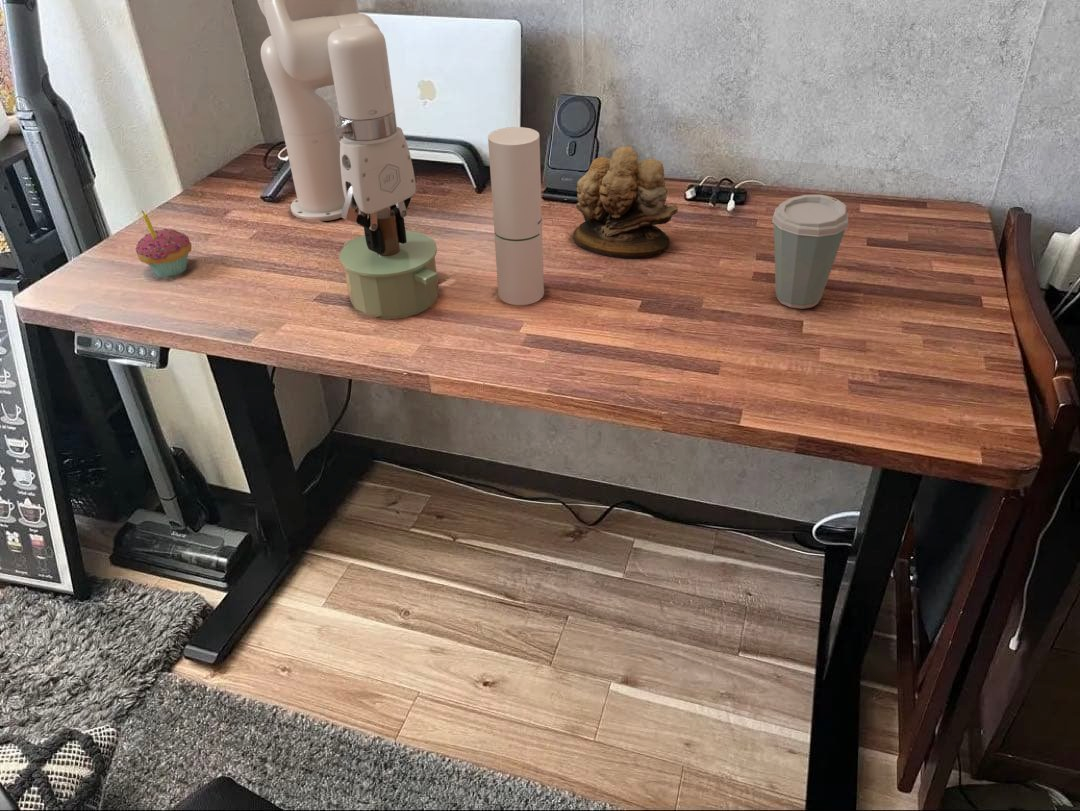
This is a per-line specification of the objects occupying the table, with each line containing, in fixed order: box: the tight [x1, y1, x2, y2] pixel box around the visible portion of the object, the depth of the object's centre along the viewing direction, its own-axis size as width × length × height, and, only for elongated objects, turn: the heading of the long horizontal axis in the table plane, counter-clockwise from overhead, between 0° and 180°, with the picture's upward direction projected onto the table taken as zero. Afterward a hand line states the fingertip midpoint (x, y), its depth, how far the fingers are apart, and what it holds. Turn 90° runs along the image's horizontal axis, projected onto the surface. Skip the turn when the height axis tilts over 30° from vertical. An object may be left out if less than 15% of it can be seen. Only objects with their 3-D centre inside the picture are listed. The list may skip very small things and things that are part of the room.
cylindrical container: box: [487, 126, 545, 306], centre depth 125 cm, size 7×7×25 cm
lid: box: [339, 208, 438, 277], centre depth 127 cm, size 15×15×7 cm
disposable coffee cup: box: [771, 194, 849, 310], centre depth 125 cm, size 11×11×15 cm
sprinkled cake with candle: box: [135, 209, 192, 278], centre depth 138 cm, size 9×8×12 cm
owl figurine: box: [572, 145, 679, 259], centre depth 140 cm, size 18×12×17 cm, turn 69°
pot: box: [343, 237, 439, 320], centre depth 131 cm, size 14×19×8 cm
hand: (387, 244), depth 127 cm, fingers closed on lid, 3 cm apart
